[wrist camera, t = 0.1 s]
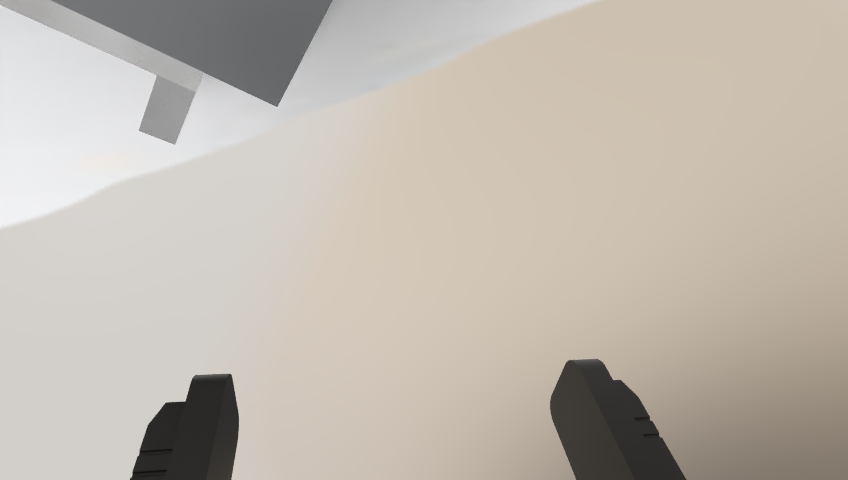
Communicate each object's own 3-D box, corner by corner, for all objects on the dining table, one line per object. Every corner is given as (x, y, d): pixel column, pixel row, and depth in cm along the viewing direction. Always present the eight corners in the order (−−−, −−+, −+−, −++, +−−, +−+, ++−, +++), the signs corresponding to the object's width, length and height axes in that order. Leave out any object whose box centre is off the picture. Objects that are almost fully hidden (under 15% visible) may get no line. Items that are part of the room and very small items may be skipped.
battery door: (-17, -128, 20) (-127, -89, 15) (228, 6, 25) (204, 68, 20) (-25, -33, 22) (-123, 28, 17) (202, 73, 27) (175, 144, 22)
